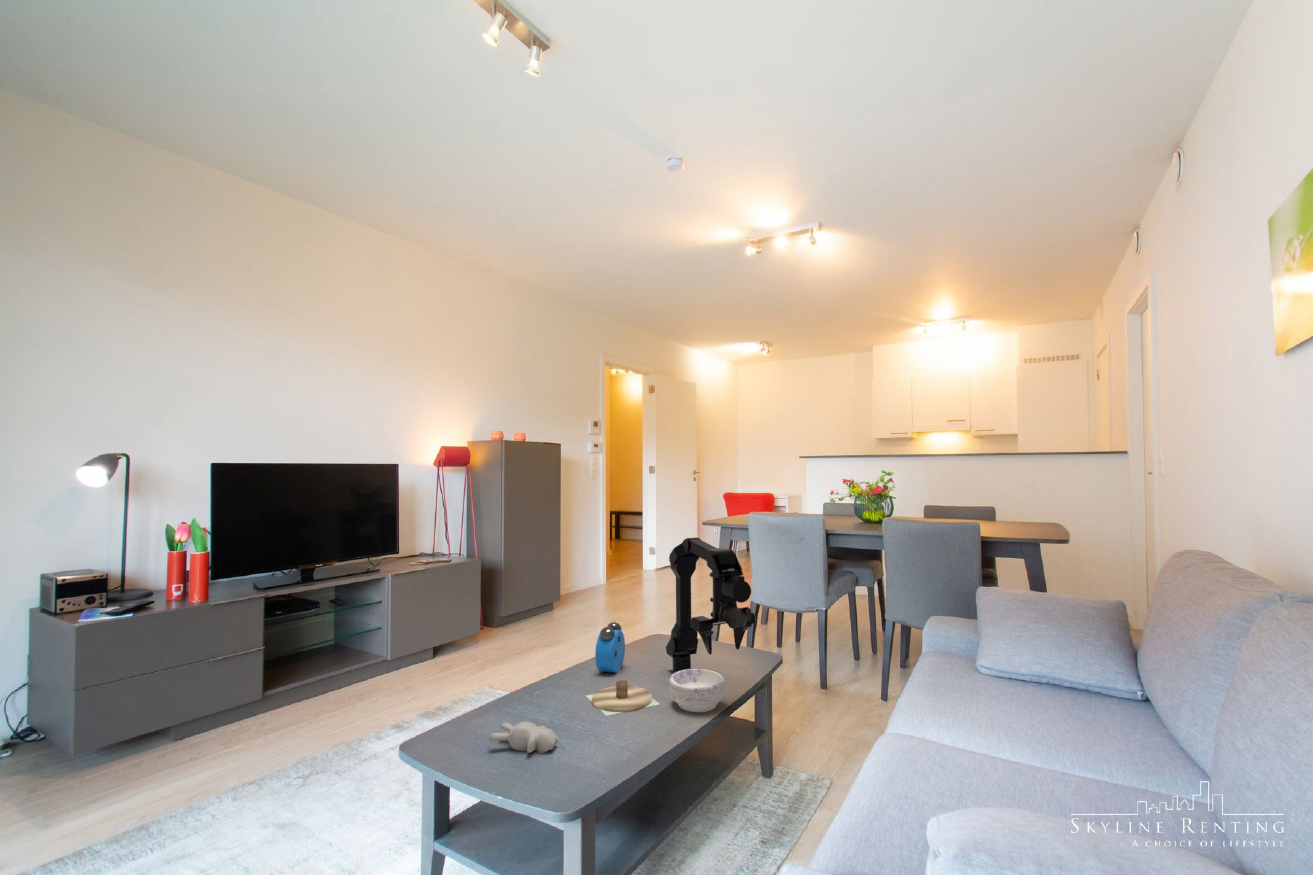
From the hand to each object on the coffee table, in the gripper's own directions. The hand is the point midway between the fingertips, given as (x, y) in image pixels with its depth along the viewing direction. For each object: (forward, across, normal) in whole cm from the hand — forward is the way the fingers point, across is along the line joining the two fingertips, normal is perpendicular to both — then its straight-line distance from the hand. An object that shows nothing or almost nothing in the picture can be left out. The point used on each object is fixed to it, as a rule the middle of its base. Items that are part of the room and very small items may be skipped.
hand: (723, 651), depth 167 cm
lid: (+14, -24, +15) cm, 32 cm away
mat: (+14, -24, +15) cm, 32 cm away
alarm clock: (+15, -17, +40) cm, 46 cm away
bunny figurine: (+15, -56, +2) cm, 57 cm away
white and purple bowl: (+15, -8, +2) cm, 17 cm away
